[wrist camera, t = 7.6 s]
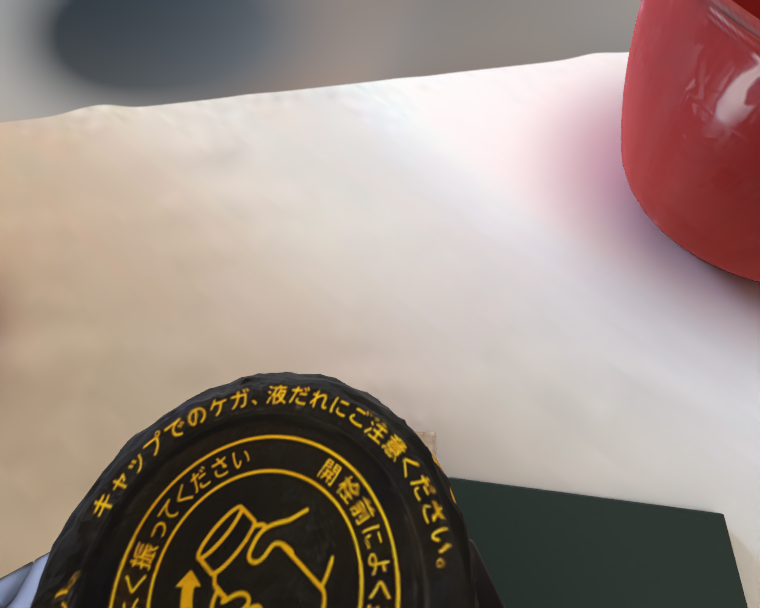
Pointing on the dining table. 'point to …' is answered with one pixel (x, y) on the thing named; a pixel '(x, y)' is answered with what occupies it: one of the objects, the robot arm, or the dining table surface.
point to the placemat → (597, 550)
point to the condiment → (268, 509)
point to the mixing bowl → (697, 126)
